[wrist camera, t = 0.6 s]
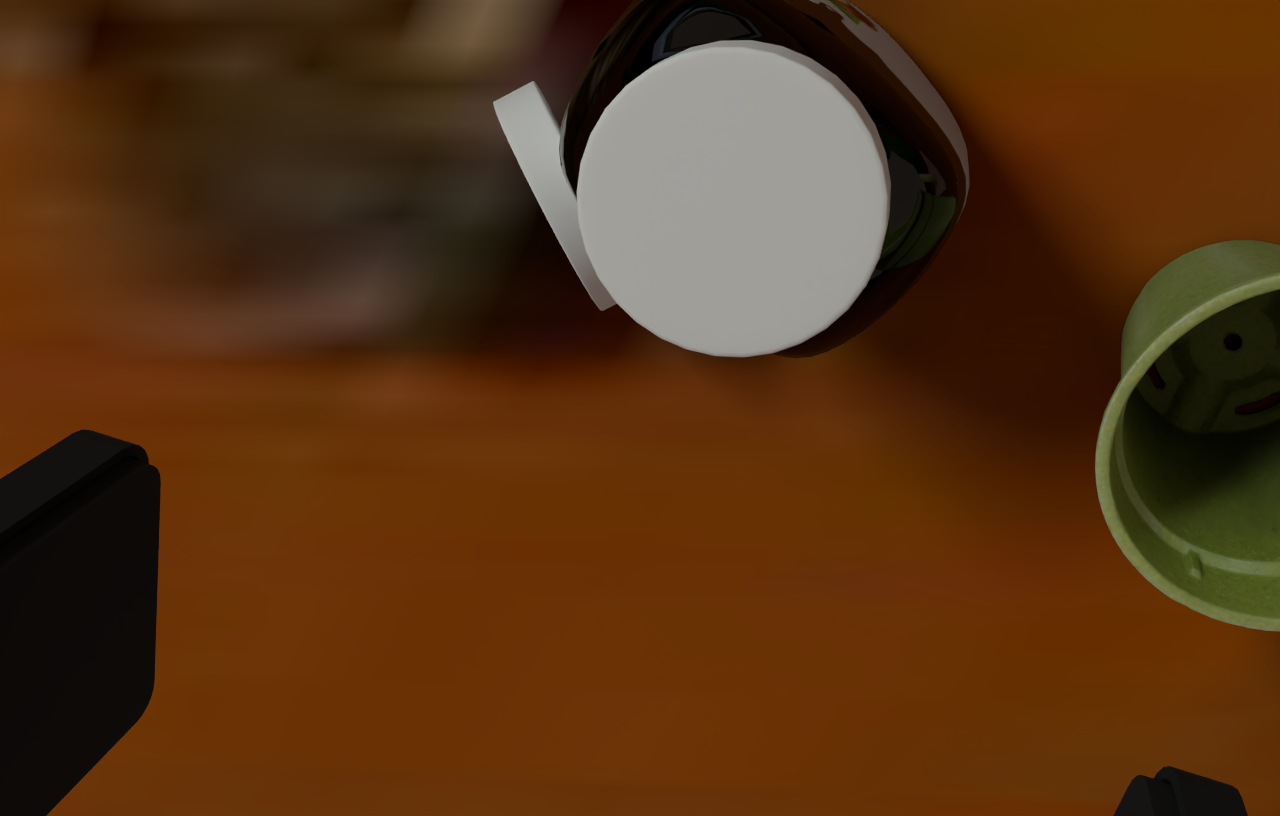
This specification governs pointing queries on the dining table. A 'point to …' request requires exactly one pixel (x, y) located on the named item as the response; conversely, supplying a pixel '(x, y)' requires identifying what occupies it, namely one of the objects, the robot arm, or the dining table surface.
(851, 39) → the spread jar
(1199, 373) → the plant pot
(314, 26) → the dining table surface
